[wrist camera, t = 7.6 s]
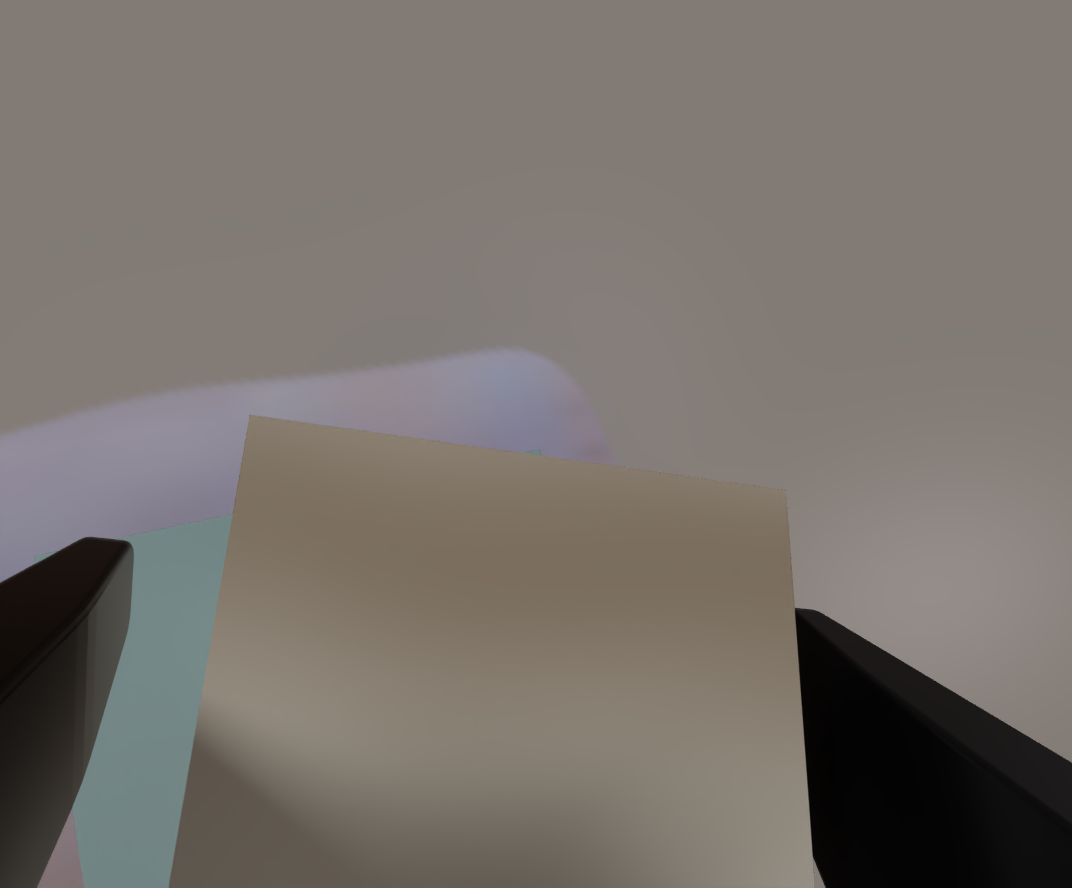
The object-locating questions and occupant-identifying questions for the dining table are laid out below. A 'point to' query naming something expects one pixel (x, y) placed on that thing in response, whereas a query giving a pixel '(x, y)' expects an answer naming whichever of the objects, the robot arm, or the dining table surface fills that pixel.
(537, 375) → the dining table surface
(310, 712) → the cream block
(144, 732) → the base block
